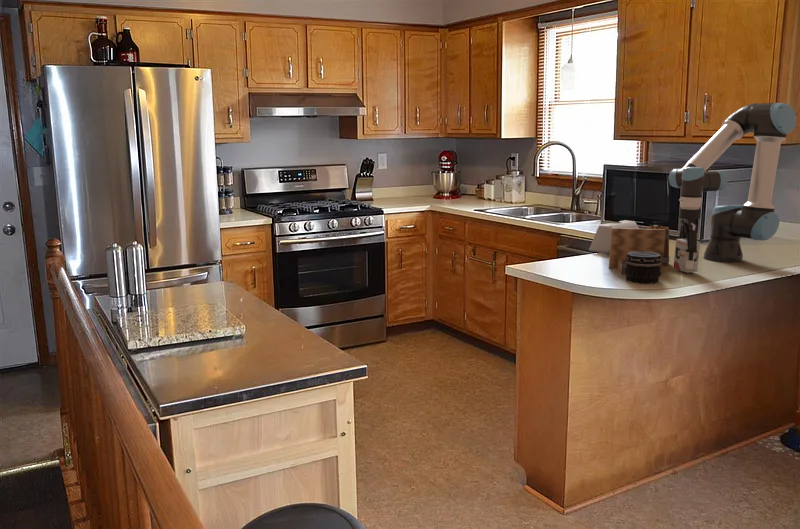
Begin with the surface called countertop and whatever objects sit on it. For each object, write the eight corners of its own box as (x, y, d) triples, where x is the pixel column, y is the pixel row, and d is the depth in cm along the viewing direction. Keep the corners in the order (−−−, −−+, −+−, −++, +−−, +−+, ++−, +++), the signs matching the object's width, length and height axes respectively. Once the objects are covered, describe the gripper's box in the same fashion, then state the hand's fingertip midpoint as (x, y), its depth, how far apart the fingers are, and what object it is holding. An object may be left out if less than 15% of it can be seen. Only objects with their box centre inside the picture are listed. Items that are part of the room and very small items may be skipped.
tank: (621, 256, 308) (623, 227, 306) (588, 251, 319) (589, 223, 317) (648, 249, 325) (650, 222, 323) (615, 245, 336) (617, 218, 334)
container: (622, 282, 256) (624, 255, 254) (624, 275, 268) (626, 249, 266) (660, 285, 252) (662, 258, 250) (661, 278, 263) (663, 252, 261)
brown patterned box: (661, 269, 279) (664, 229, 276) (668, 275, 269) (671, 233, 266) (608, 268, 282) (611, 227, 279) (613, 273, 271) (616, 232, 268)
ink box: (672, 268, 279) (675, 238, 277) (683, 267, 280) (685, 237, 278) (687, 272, 271) (689, 242, 269) (698, 272, 272) (700, 241, 270)
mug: (671, 266, 287) (674, 229, 284) (643, 265, 289) (646, 228, 286) (664, 259, 302) (667, 224, 299) (638, 258, 304) (641, 223, 301)
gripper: (672, 204, 282) (668, 260, 287) (687, 211, 261) (683, 271, 265) (692, 204, 281) (687, 260, 286) (709, 211, 260) (704, 272, 264)
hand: (685, 265), depth 275 cm, fingers closed on ink box, 9 cm apart
